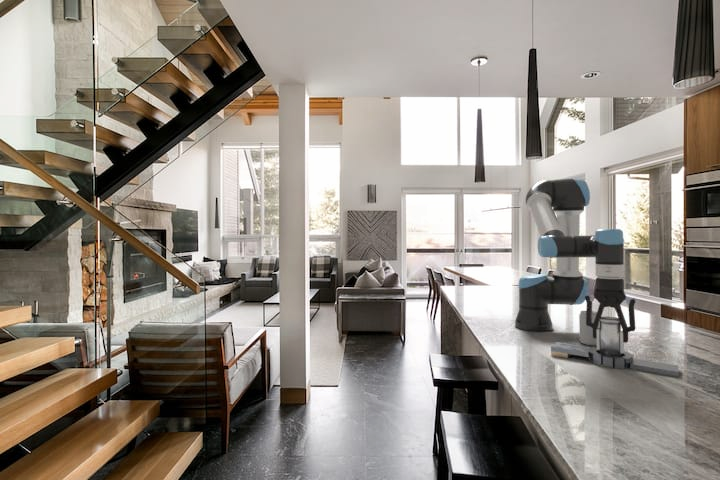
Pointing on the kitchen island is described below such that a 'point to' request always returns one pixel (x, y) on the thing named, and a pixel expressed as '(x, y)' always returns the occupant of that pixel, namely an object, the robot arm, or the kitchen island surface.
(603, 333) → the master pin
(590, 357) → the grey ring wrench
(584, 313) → the beverage can
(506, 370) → the kitchen island surface
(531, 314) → the robot arm
